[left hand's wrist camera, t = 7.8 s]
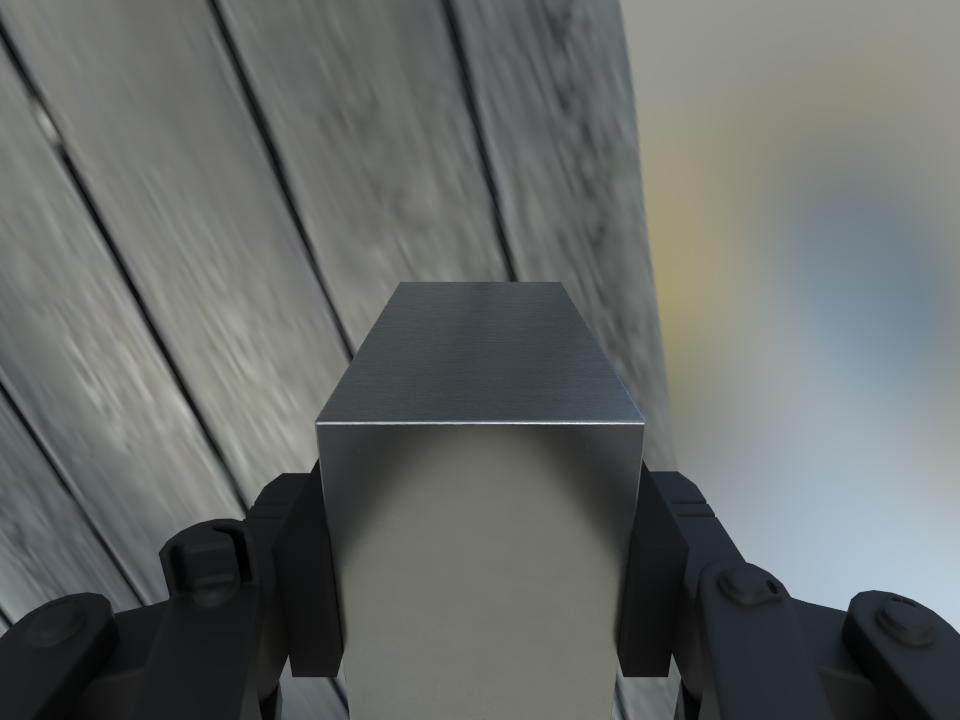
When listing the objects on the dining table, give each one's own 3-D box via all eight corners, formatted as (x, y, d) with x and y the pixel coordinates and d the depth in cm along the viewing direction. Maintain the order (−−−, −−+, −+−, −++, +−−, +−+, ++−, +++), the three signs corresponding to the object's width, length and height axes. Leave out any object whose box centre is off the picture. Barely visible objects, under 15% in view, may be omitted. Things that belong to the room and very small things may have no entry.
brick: (399, 281, 17) (313, 421, 8) (560, 281, 17) (648, 421, 8) (409, 467, 19) (350, 731, 10) (551, 467, 19) (610, 731, 10)
